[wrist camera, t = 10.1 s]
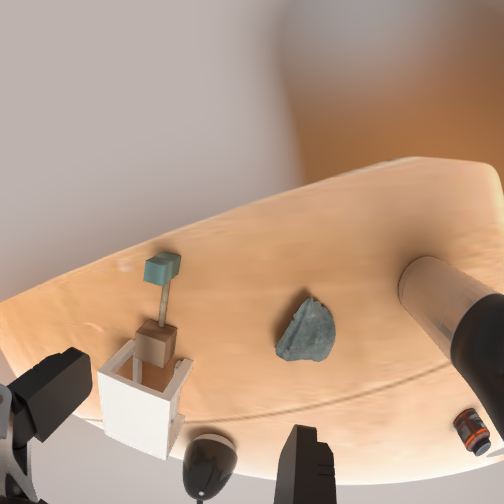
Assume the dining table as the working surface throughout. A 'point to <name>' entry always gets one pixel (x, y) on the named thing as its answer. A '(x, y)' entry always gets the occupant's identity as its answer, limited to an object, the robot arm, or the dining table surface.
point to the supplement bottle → (473, 432)
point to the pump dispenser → (208, 466)
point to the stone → (308, 334)
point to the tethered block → (157, 333)
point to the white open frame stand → (141, 405)
